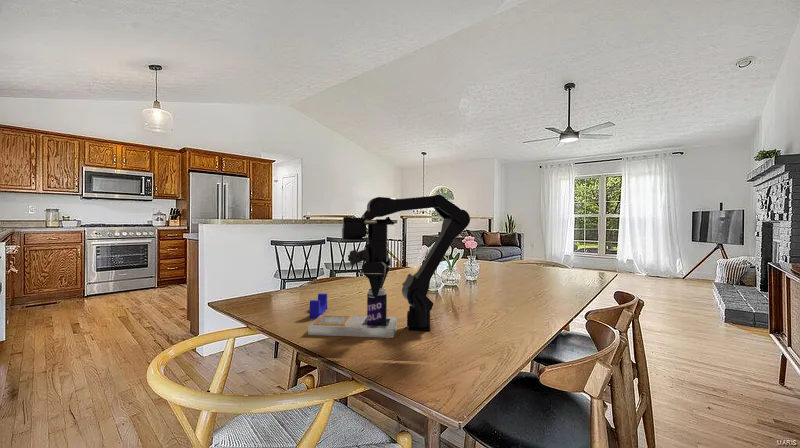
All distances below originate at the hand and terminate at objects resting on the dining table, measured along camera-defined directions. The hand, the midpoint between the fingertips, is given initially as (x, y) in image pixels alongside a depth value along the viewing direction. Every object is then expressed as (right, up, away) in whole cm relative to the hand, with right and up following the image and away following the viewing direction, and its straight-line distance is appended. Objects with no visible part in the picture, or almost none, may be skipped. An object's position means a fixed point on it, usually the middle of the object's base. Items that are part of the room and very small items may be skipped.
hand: (377, 293), depth 101 cm
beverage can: (0, -11, 0) cm, 11 cm away
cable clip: (-22, -11, +17) cm, 30 cm away
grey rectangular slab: (-7, -11, 0) cm, 13 cm away
